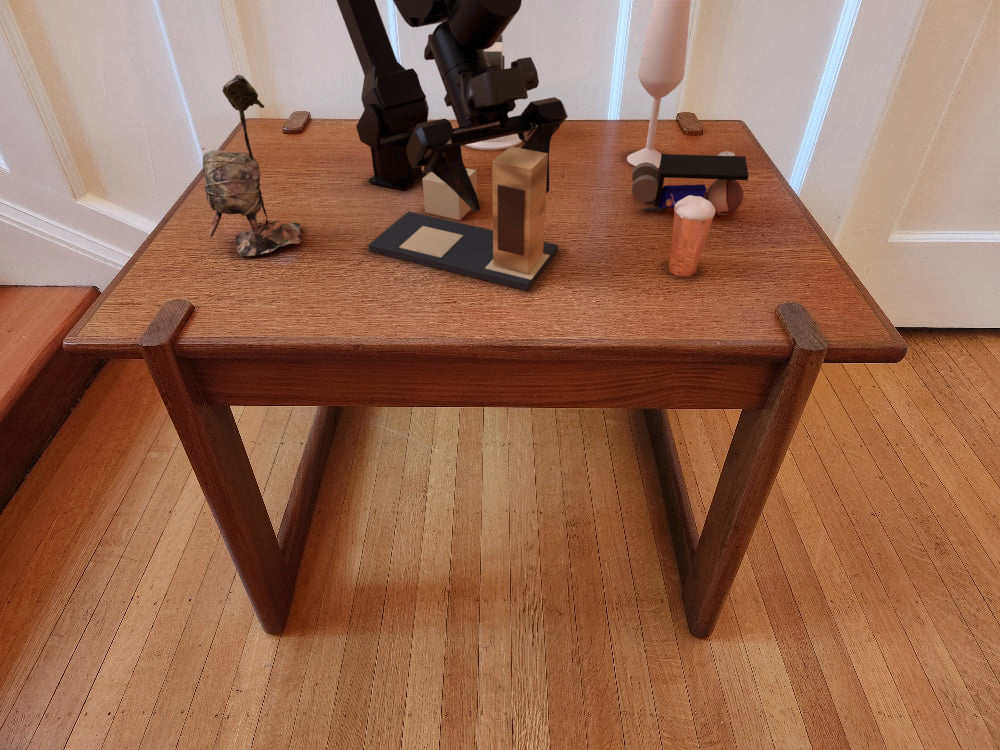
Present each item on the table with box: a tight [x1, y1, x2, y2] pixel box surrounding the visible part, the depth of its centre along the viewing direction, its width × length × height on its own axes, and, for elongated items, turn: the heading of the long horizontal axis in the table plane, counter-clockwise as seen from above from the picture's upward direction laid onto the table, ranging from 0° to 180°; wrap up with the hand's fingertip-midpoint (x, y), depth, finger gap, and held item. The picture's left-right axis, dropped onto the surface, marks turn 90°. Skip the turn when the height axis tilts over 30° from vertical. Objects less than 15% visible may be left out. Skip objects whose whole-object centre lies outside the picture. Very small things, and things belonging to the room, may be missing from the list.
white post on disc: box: [465, 34, 523, 151], centre depth 105 cm, size 12×11×15 cm
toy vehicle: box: [631, 153, 750, 216], centre depth 88 cm, size 7×8×15 cm
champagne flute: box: [626, 0, 692, 169], centre depth 95 cm, size 7×7×24 cm
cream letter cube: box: [421, 167, 478, 221], centre depth 89 cm, size 6×6×5 cm
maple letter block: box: [491, 146, 548, 275], centre depth 73 cm, size 5×5×13 cm
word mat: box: [367, 211, 559, 292], centre depth 81 cm, size 22×10×1 cm, turn 65°
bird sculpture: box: [201, 74, 304, 258], centre depth 77 cm, size 8×11×20 cm
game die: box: [717, 151, 736, 156], centre depth 99 cm, size 4×4×3 cm
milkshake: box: [668, 194, 716, 277], centre depth 75 cm, size 5×5×10 cm
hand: (512, 201), depth 74 cm, fingers open, 9 cm apart
